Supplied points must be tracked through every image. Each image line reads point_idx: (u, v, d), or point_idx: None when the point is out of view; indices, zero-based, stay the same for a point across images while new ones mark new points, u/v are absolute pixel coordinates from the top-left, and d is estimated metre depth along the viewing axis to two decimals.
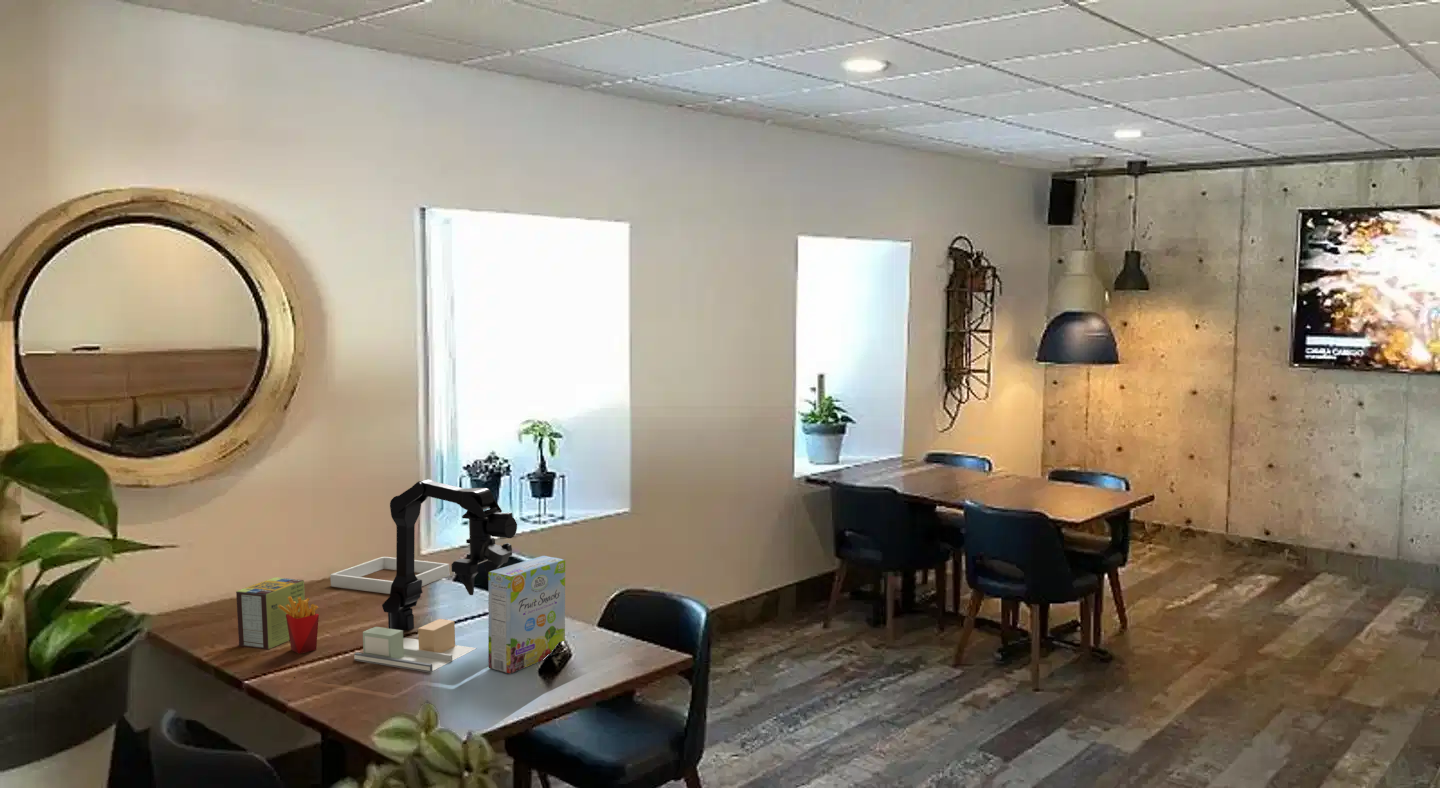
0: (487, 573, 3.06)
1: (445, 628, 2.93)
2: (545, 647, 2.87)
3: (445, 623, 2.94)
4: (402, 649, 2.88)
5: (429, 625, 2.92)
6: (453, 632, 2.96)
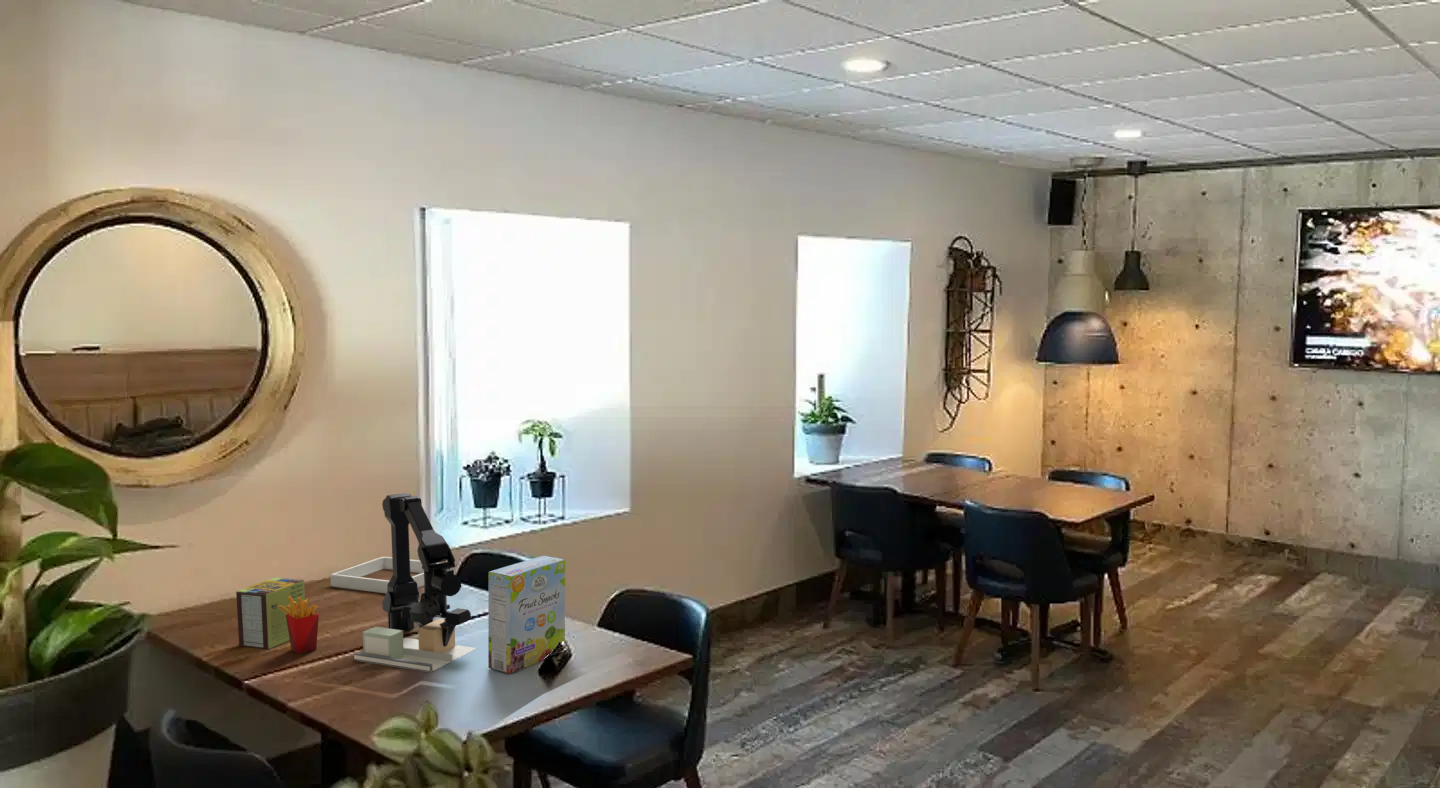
0: None
1: None
2: (545, 647, 2.87)
3: None
4: (402, 649, 2.88)
5: (429, 625, 2.92)
6: (453, 632, 2.96)
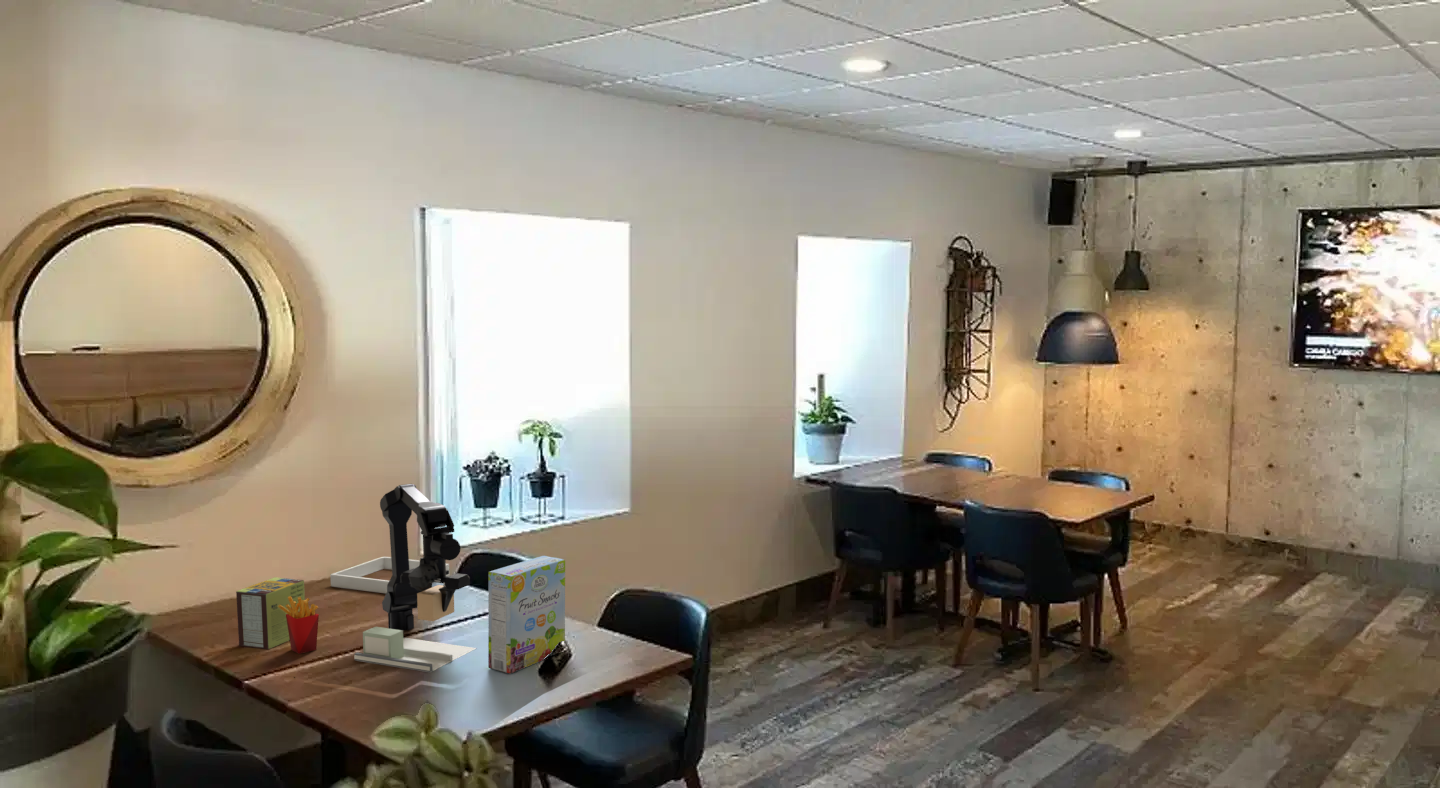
0: None
1: None
2: (545, 647, 2.87)
3: None
4: (402, 649, 2.88)
5: (428, 590, 2.91)
6: (452, 598, 2.95)
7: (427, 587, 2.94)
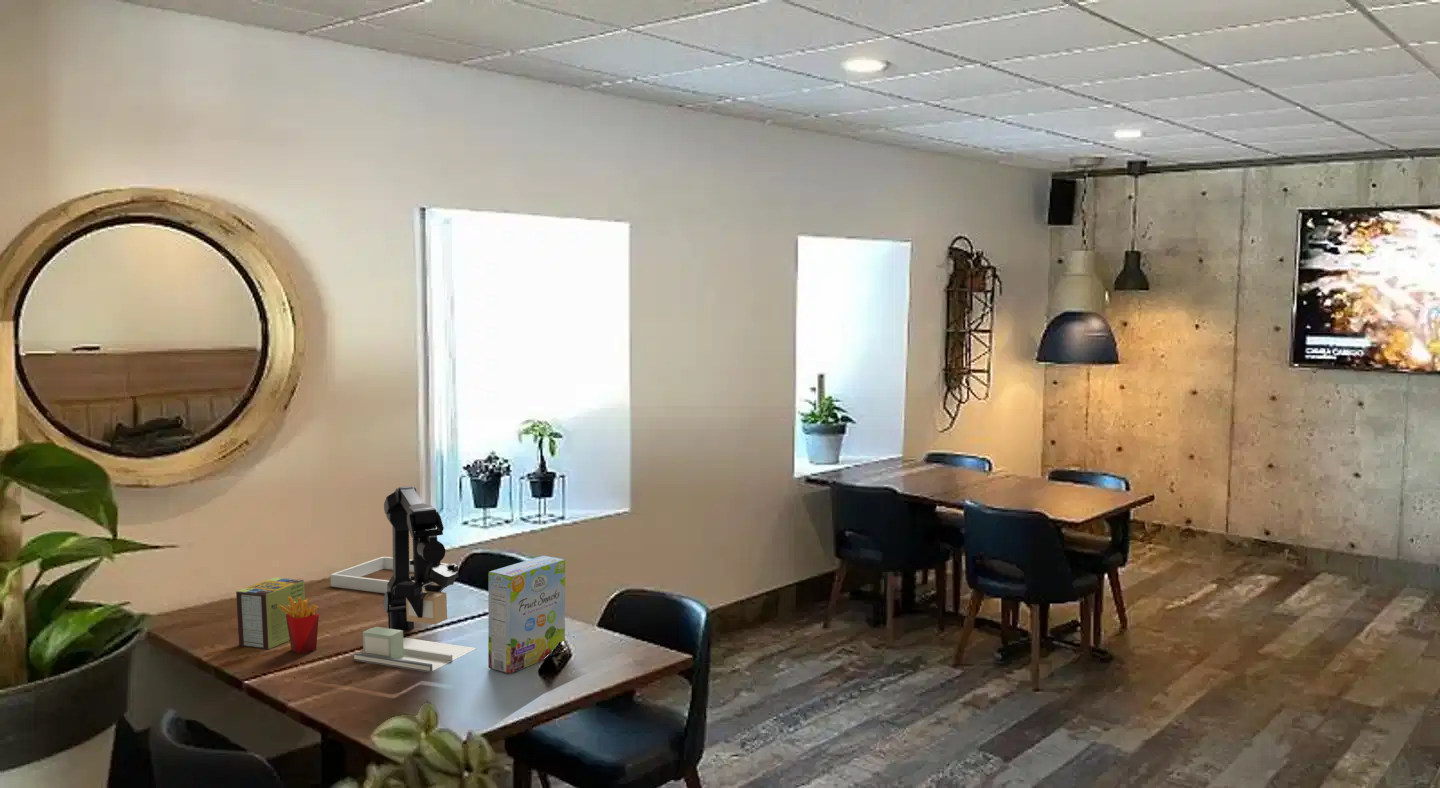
0: None
1: None
2: (545, 647, 2.87)
3: (424, 591, 2.88)
4: (402, 649, 2.88)
5: (427, 595, 2.84)
6: None
7: None
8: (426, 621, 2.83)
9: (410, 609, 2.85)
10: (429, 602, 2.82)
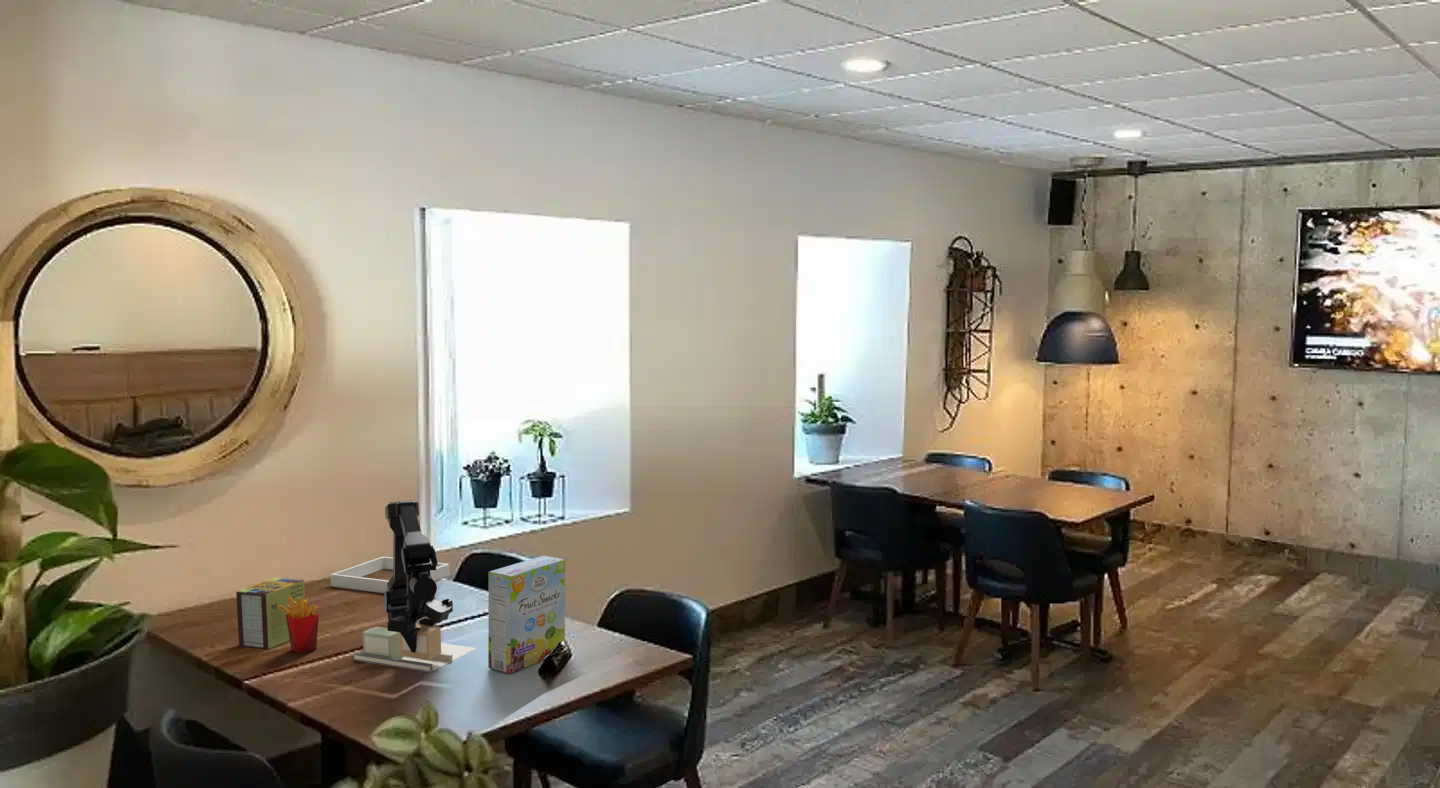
0: None
1: None
2: (545, 647, 2.87)
3: (418, 625, 2.85)
4: None
5: (421, 629, 2.81)
6: None
7: None
8: (420, 656, 2.81)
9: (404, 643, 2.82)
10: (422, 637, 2.80)
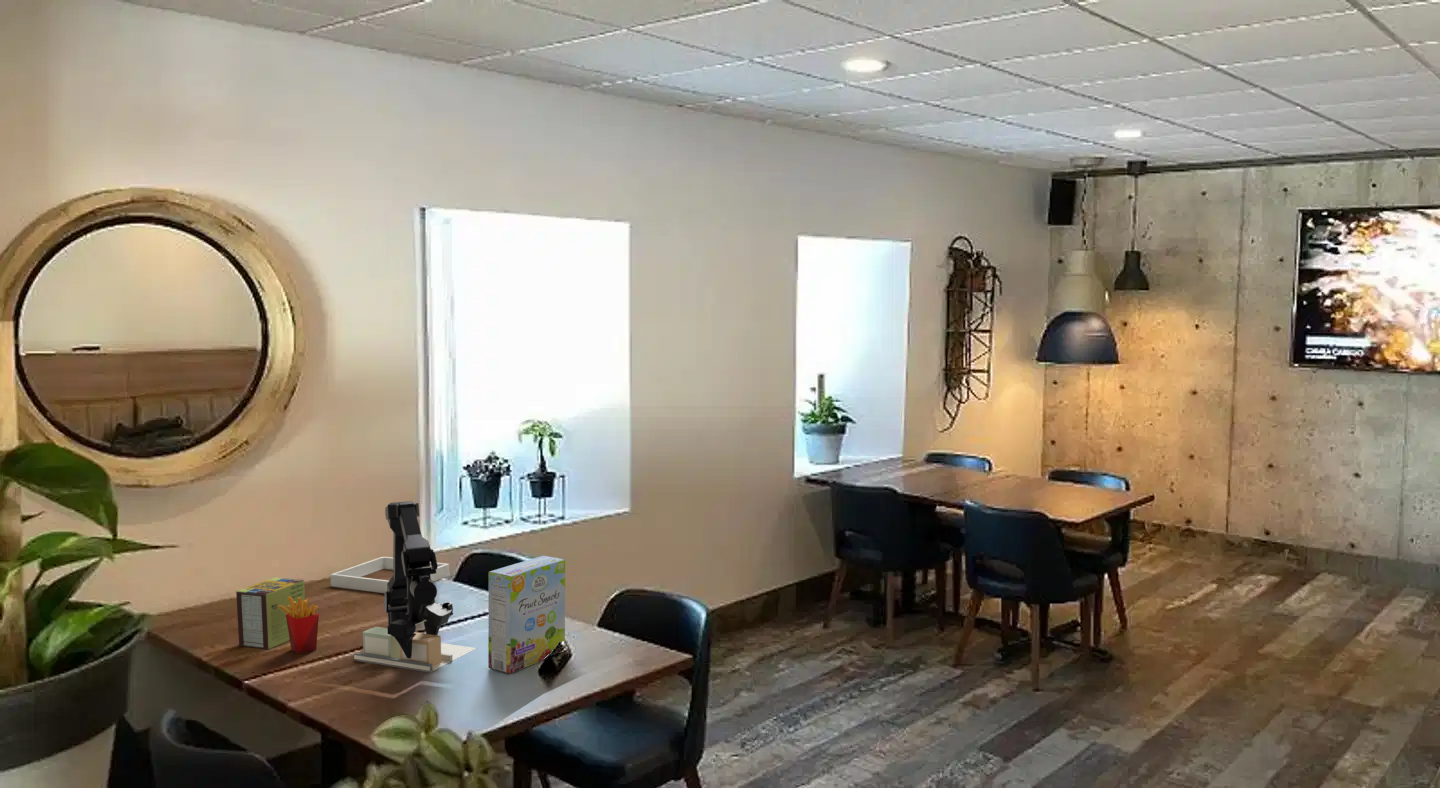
0: (427, 633, 2.88)
1: None
2: (545, 647, 2.87)
3: (419, 634, 2.85)
4: None
5: (421, 638, 2.81)
6: None
7: None
8: None
9: None
10: (422, 646, 2.80)
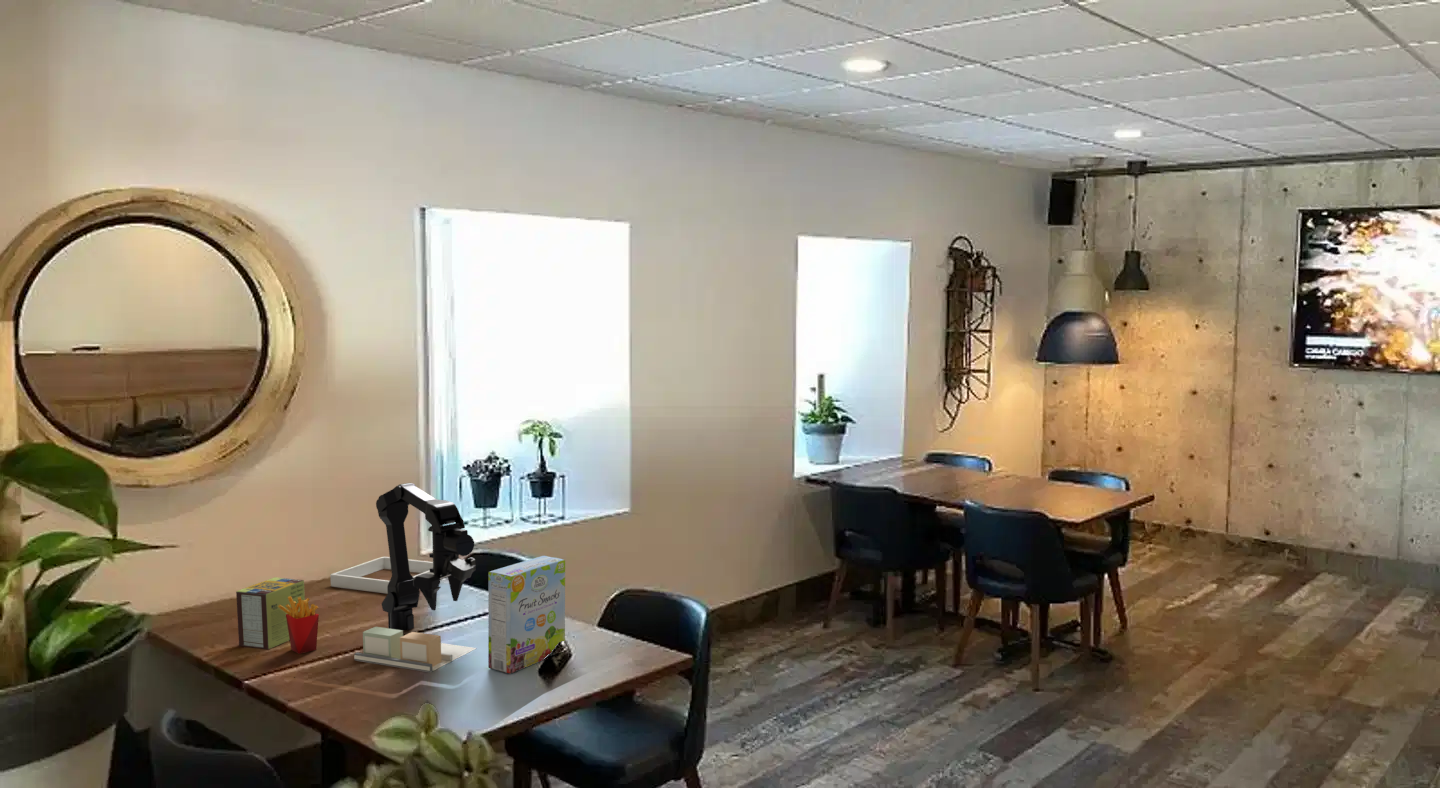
0: (451, 587, 3.02)
1: None
2: (545, 647, 2.87)
3: (419, 634, 2.85)
4: None
5: (421, 638, 2.81)
6: None
7: None
8: None
9: (404, 652, 2.82)
10: (422, 646, 2.80)
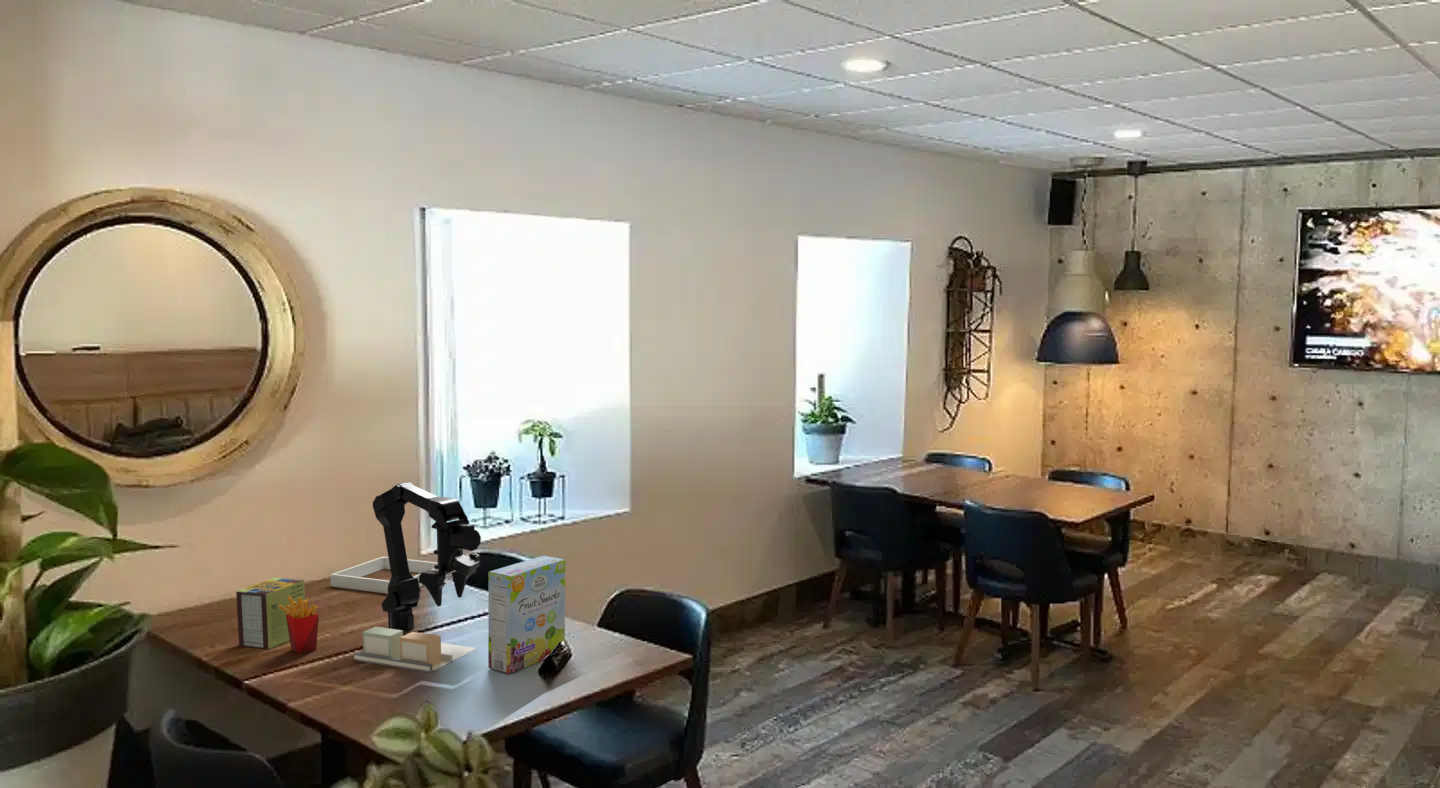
0: (455, 584, 3.04)
1: None
2: (545, 647, 2.87)
3: (419, 634, 2.85)
4: None
5: (421, 638, 2.81)
6: None
7: None
8: None
9: (404, 652, 2.82)
10: (422, 646, 2.80)
